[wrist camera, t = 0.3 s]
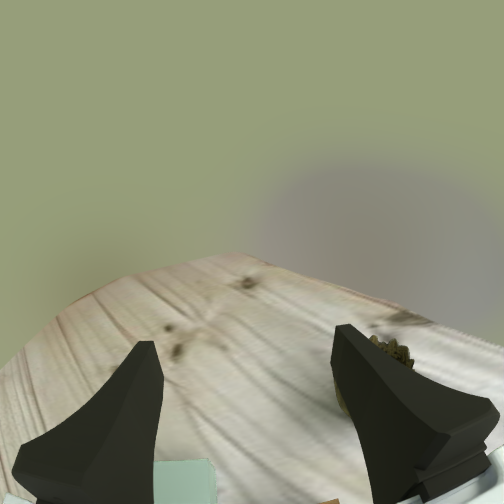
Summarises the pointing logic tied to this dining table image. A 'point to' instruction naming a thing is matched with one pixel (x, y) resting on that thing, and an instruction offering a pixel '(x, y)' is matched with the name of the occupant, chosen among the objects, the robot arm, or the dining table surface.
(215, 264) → the dining table surface
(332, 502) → the walnut block
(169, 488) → the mint green base block
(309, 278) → the dining table surface
